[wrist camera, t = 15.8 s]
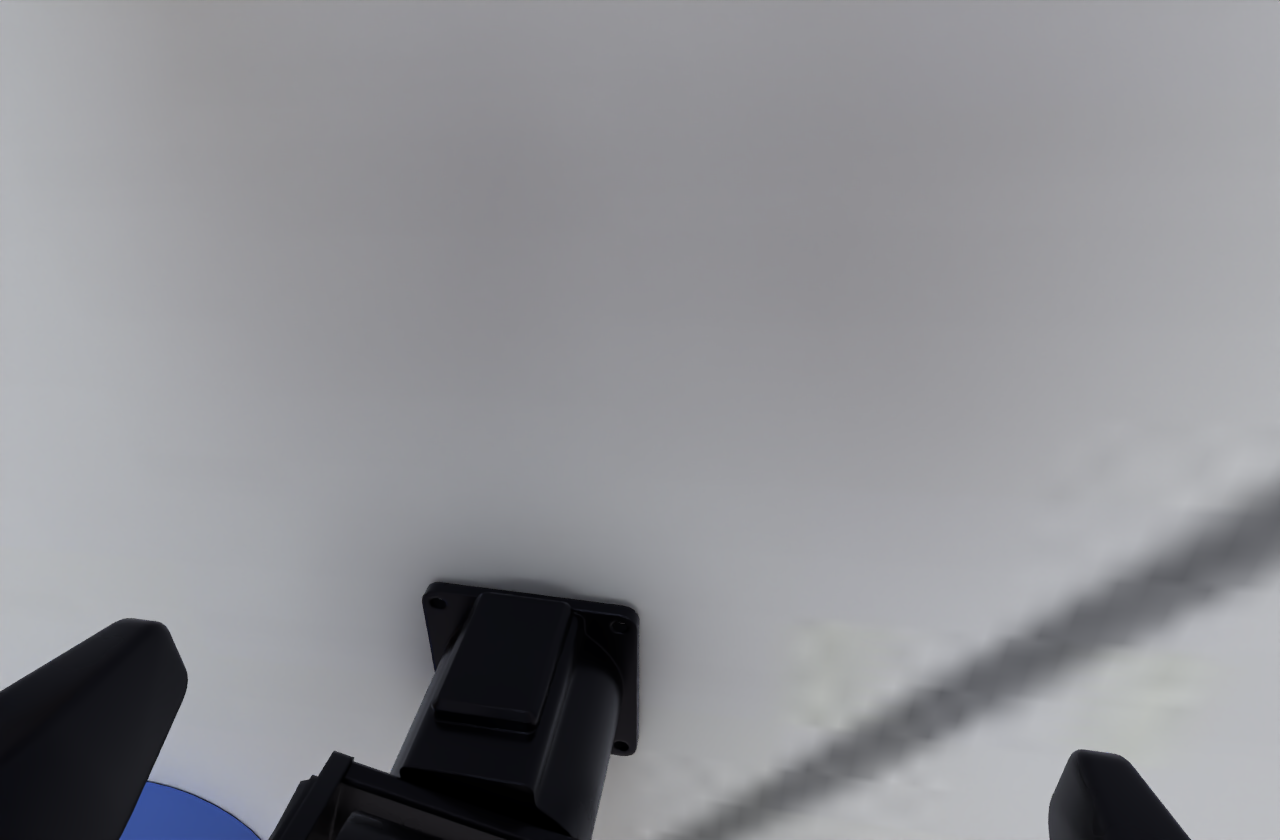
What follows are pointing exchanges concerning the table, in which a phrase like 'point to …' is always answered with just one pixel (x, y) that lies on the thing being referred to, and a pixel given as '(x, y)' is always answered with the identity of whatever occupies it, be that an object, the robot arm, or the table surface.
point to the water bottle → (180, 818)
